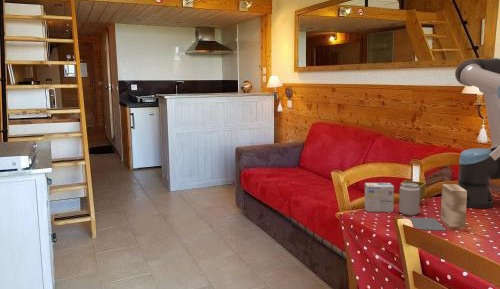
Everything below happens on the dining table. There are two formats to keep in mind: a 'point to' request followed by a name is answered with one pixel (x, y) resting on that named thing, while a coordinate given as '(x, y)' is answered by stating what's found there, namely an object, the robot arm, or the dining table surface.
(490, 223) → the dining table surface
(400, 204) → the can
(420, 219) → the mat
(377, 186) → the light bulb box
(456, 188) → the birch block
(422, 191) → the flower pot
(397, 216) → the dining table surface
